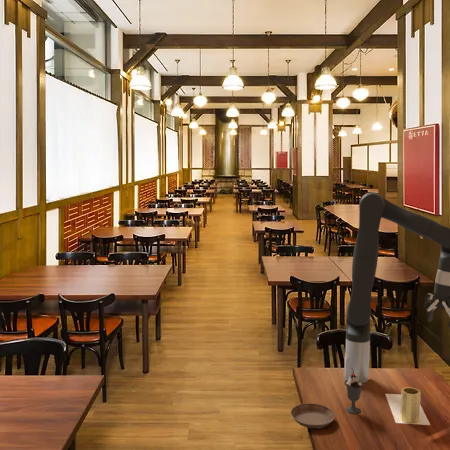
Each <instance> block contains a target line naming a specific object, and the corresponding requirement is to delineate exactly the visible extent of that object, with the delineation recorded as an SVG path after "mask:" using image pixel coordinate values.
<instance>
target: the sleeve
mask: <svg viewBox="0 0 450 450" xmlns="http://www.w3.org/2000/svg"><path fill="white" fill-rule="evenodd" d="M400 395H401V406H400V419H401V420H402V421H403V422H405V423H410V424H409V425H417V424H416V423H418V422H419V416H420V405H421V390H420V389H417V388H415V387H412V386H411V387H410V386H404V387H402V388H401V389H400Z"/></svg>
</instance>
